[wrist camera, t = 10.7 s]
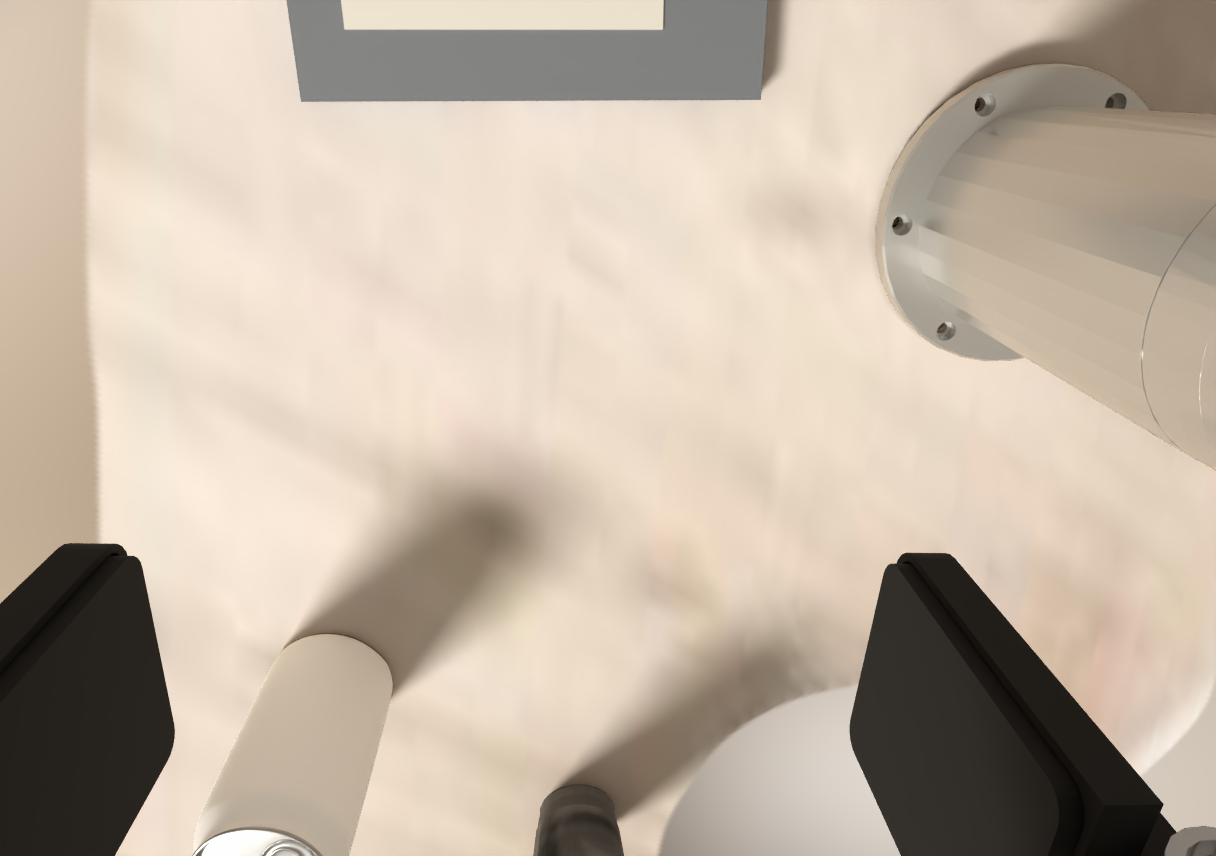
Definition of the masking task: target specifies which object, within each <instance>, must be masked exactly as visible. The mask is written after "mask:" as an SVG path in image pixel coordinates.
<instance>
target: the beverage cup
mask: <svg viewBox="0 0 1216 856" xmlns="http://www.w3.org/2000/svg"><path fill="white" fill-rule="evenodd" d="M533 856H624V853H623V848H622V842H621V837H620V831H619V828H618V825H617V822H616V817H615V814H614V806H613V804H612V801H611V799H610V798H609V797H608V796H607V795H606V793H604V792H603V791H601V790H599V789H597V788H595V787H591V786H587V785H571V786H567V787H562V788H560V789H558V790H556V791H554V792H552V793H551V794H550V795H549V796H548V797H547V798H546V799H545V800H544V802H543V804H542V806H541V808H540V818H539V823H538V828H537V830H536V839H535V847H534V855H533Z"/></svg>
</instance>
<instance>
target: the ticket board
mask: <svg viewBox="0 0 1216 856" xmlns="http://www.w3.org/2000/svg"><path fill="white" fill-rule="evenodd" d="M767 1H768V0H287V6H288V13H289V20H290V27H291V34H292V41H293V48H294V55H295V62H296V69H297V76H298V83H299V90H300V97H301V102H320V101H564V100H761V89H762V75H763V60H764V45H765V31H766V16H767Z"/></svg>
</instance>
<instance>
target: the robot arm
mask: <svg viewBox="0 0 1216 856" xmlns="http://www.w3.org/2000/svg"><path fill="white" fill-rule="evenodd" d="M977 99H979V100H980V106H979V108H978V109H977V110H976V111H975V103H976V100H977ZM1106 102H1107V105H1106V107H1105V104H1106ZM897 217H898V218H899V224H898V225H897V226H896V227H893V228H892V224H893V221H894V220H895V219H896V218H897ZM876 259H877V264H878V269H879V274H880V279H881V282H882V284H883V287H884V289H885V291H886V293H887V296H888V298H889V300H890V302H891V304H892V305H893V307H894V308H895V310H896V311H897V312H898V314H899V315H900V316H901V318H902V319H903V320H904V322H905V323H906V324H908V325H909V326H910V327H911V328H912V329H913V330H915V331H916V332H917V333H918V334H919V335H920V336H921V337H923V338H924V339H926V340H927V341H929V342H930V343H932V344H933V345H935V346H936V347H938V348H940V349H943V350H945V351H948V352H950V353H953V354H955V355H958V356H960V357H964V358H970V359H976V360H982V361H1011V360H1016V359H1021V358H1026V359H1028V360H1030V361H1031V362H1033V363H1035V364H1036V365H1038V366H1040V367H1041V368H1043V369H1045V370H1046V371H1048V372H1050V373H1051V374H1053V375H1055V376H1056V377H1058V378H1060V379H1061V380H1063V381H1065V382H1066V383H1068V384H1070V385H1071V386H1073V387H1075V388H1076V389H1078V390H1080V391H1081V392H1083V393H1085V394H1086V395H1088V396H1090V397H1091V398H1093V399H1095V400H1096V401H1098V402H1100V403H1102V404H1103V405H1105V406H1107V407H1108V408H1110V409H1112V410H1113V411H1115V412H1117V413H1118V414H1120V415H1122V416H1123V417H1125V418H1127V419H1128V420H1130V421H1132V422H1133V423H1135V424H1137V425H1138V426H1140V427H1142V428H1143V429H1145V430H1147V431H1148V432H1150V433H1152V434H1153V435H1155V436H1157V437H1159V438H1160V439H1162V440H1164V441H1165V442H1167V443H1168V444H1170V445H1172V446H1174V447H1175V448H1177V449H1179V450H1180V451H1182V452H1184V453H1186V454H1187V455H1189V456H1191V457H1192V458H1194V459H1196V460H1198V461H1200V462H1202V463H1204V464H1205V465H1207V466H1209V467H1210V468H1212V469H1214V470H1216V114H1202V113H1184V112H1166V111H1151V110H1150V108H1149V107H1148V106H1147V105H1146V104H1145V103H1144V102H1143V101H1142V100H1141V98H1140V97H1139V96H1138V95H1137V94H1136V93H1135V92H1134V91H1133V90H1132V89H1131V88H1129V87H1128V86H1126V85H1125V84H1123V83H1122V82H1120V81H1119V80H1117V79H1116V78H1114V77H1113V76H1111V75H1108V74H1105V73H1103V72H1100V71H1097V70H1094V69H1091V68H1089V67H1086V66H1077V65H1067V64H1058V63H1057V64H1034V65H1028V66H1023V67H1019V68H1014V69H1009V70H1004V71H1002V72H999V73H997V74H994V75H992V76H990V77H987V78H985V79H982V80H980V81H978V82H975V83H974V84H972V85H971V86H969V87H968V88H966V89H964V90H963V91H961V92H960V93H958V94H957V95H955V96H954V97H952V98H950V99H949V100H948V101H947V102H946V103H944V104H943V105H942V106H941V107H940V108H939V109H938V110H937V111H936V112H935V113H933V114H932V115H931V116H930V117H929V118H928V119H927V120H926V121H925V122H924V123H923V124H922V126H921V127H920V128H919V130H918V131H917V132H916V133H915V135H914V136H913V137H912V138H911V140H910V141H909V142H908V143H907V145H906V146H905V148H904V150H903V151H902V153H901V155H900V157H899V158H898V160H897V162H896V164H895V166H894V167H893V169H892V171H891V173H890V176H889V178H888V181H887V184H886V187H885V189H884V192H883V195H882V198H881V201H880V206H879V212H878V217H877V223H876ZM941 324H943V325H942V328H941V329H939V330H938V327H939V326H940V325H941ZM174 735H175V729H174V722H173V717H172V712H171V707H170V702H169V697H168V692H167V687H166V682H165V677H164V672H163V667H162V663H161V658H160V653H159V648H158V643H157V638H156V633H155V628H154V623H153V618H152V613H151V608H150V603H149V599H148V594H147V589H146V584H145V579H144V574H143V569H142V566H141V562H140V561H139V559H138V558H137V557H135V556H127V553H126V551H125V550H124V548H123V547H122V546H120V545H118V544H82V543H81V544H80V543H74V544H73V543H70V544H64V545H62V546H61V547H59V548H58V549H57V550H56V551H55V552H54V553H53V554H52V555H50V556H49V557H48V558H47V559H46V560H45V561H44V562H43V563H42V564H41V565H40V566H39V567H38V568H37V569H36V570H35V571H34V572H33V573H32V574H31V575H30V576H29V577H28V578H27V579H26V580H25V581H23V582H22V583H21V584H20V585H19V586H18V587H17V588H16V589H15V590H14V591H13V592H12V593H11V594H10V595H9V596H8V597H7V598H6V599H5V600H4V601H3V602H2V603H1V604H0V856H115V854H116V852H117V851H118V849H119V847H120V845H121V843H122V842H123V840H124V838H125V836H126V834H127V833H128V831H129V829H130V827H131V825H132V824H133V822H134V820H135V818H136V817H137V815H138V813H139V811H140V809H141V808H142V806H143V804H144V802H145V800H146V799H147V797H148V795H149V793H150V791H151V790H152V788H153V786H154V784H155V782H156V781H157V779H158V777H159V775H160V773H161V772H162V770H163V768H164V766H165V764H166V763H167V761H168V759H169V756H170V754H171V751H172V748H173V743H174ZM850 739H851V744H852V748H853V751H854V753H855V756H856V758H857V760H858V762H859V764H860V767H861V769H862V771H863V773H864V775H865V778H866V780H867V782H868V784H869V786H870V788H871V791H872V793H873V795H874V797H875V799H876V802H877V804H878V806H879V808H880V810H881V812H882V815H883V817H884V819H885V821H886V823H887V826H888V828H889V830H890V832H891V835H892V837H893V839H894V841H895V843H896V846H897V848H898V850H899V852H900V854H901V856H1216V828H1214V827H1207V826H1200V827H1191V828H1184V829H1182V830H1181V831H1179V832H1176V831H1175V830H1174V829H1173V827H1172V826H1171V825H1170V824H1169V823H1168V821H1167V820H1166V819H1165V818H1164V817H1163V815H1162V814H1161V813H1160V811H1161V809H1162V807H1163V803H1162V802H1161V801H1160V799H1159V798H1158V797H1157V796H1156V795H1155V794H1154V793H1153V791H1152V790H1151V789H1150V788H1149V787H1148V785H1147V784H1146V783H1145V782H1144V781H1143V780H1142V778H1141V777H1140V776H1139V775H1138V774H1137V772H1136V771H1135V770H1134V769H1133V768H1132V766H1131V765H1130V764H1129V763H1128V762H1127V761H1126V759H1125V758H1124V757H1123V756H1122V755H1121V754H1120V752H1119V751H1118V750H1117V749H1116V748H1115V746H1114V745H1113V744H1112V743H1111V742H1110V741H1109V739H1108V738H1107V737H1106V736H1105V735H1104V734H1103V732H1102V731H1101V730H1100V729H1099V728H1098V726H1097V725H1096V724H1095V723H1094V722H1093V721H1092V719H1091V718H1090V717H1089V716H1088V715H1087V713H1086V712H1085V711H1084V710H1083V709H1082V708H1081V706H1080V705H1079V704H1078V703H1077V702H1076V701H1075V699H1074V698H1073V697H1072V696H1071V695H1070V693H1069V692H1068V691H1067V690H1066V689H1065V688H1064V686H1063V685H1062V684H1061V683H1060V682H1059V681H1058V679H1057V678H1056V677H1055V676H1054V675H1053V673H1052V672H1051V671H1050V670H1049V669H1048V668H1047V666H1046V665H1045V664H1044V663H1043V662H1042V660H1041V659H1040V658H1039V657H1038V656H1037V655H1036V653H1035V652H1034V651H1033V650H1032V649H1031V648H1030V646H1029V645H1028V644H1027V643H1026V642H1025V640H1024V639H1023V638H1022V637H1021V636H1020V635H1019V633H1018V632H1017V631H1016V630H1015V629H1014V628H1013V626H1012V625H1011V624H1010V623H1009V622H1008V620H1007V619H1006V618H1005V617H1004V616H1003V615H1002V613H1001V612H1000V611H999V610H998V609H997V607H996V606H995V605H994V604H993V603H992V602H991V600H990V599H989V598H988V597H987V596H986V595H985V593H984V592H983V591H982V590H981V589H980V587H979V586H978V585H977V584H976V583H975V582H974V580H973V579H972V578H971V577H970V576H969V575H968V573H967V572H966V571H965V570H964V569H963V567H962V566H961V565H960V564H959V563H958V562H957V560H956V559H955V558H954V557H953V556H951V555H950V554H946V553H905V554H903V555H901V556H900V558H899V559H898V561H897V564H890V565H888V566H887V567H886V569H885V572H884V575H883V579H882V583H881V588H880V592H879V597H878V601H877V605H876V610H875V614H874V619H873V623H872V627H871V632H870V636H869V641H868V645H867V649H866V654H865V658H864V663H863V667H862V671H861V676H860V680H859V685H858V690H857V693H856V698H855V703H854V707H853V711H852V715H851V720H850Z"/></svg>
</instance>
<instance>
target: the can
mask: <svg viewBox="0 0 1216 856" xmlns="http://www.w3.org/2000/svg"><path fill="white" fill-rule="evenodd" d="M392 688H393V682H392V676H391V672H390V669H389V667H388V665H387V663H386V662H385V661H384V659H383V658H382V657H381V656H380V655H379V654H378V653H376V652H375V651H374V650H373V649H371V648H370V647H369V646H367V645H366V644H364V643H362V642H361V641H359V640H357V639H354V638H351V637H348V636H344V635H338V634H320V635H313V636H309V637H305V638H302V639H300V640H297V641H295V642H293V643H292V644H290V645H289V646H287V647H286V648H285V649H284V650H283V651H282V652H281V653H280V654H279V655H278V657H277V658H276V660H275V661H274V663H273V665H272V667H271V669H270V671H269V673H268V675H267V677H266V679H265V681H264V683H263V685H262V687H261V689H260V691H259V693H258V695H257V697H256V699H255V701H254V703H253V705H252V707H251V710H250V712H249V714H248V716H247V718H246V720H245V722H244V724H243V726H242V728H241V730H240V732H239V734H238V736H237V738H236V741H235V743H234V745H233V747H232V749H231V751H230V753H229V755H228V757H227V759H226V761H225V763H224V766H223V768H222V770H221V772H220V774H219V776H218V778H217V780H216V782H215V784H214V786H213V789H212V791H211V793H210V795H209V797H208V799H207V801H206V803H205V806H204V808H203V810H202V812H201V815H200V817H199V819H198V822H197V825H196V828H195V831H194V839H193V845H194V854H193V856H349V853H350V850H351V846H352V843H353V839H354V836H355V832H356V829H357V825H358V821H359V818H360V814H361V810H362V806H363V803H364V799H365V795H366V791H367V788H368V784H369V780H370V776H371V773H372V769H373V765H374V761H375V758H376V754H377V750H378V746H379V742H380V739H381V735H382V731H383V727H384V723H385V719H386V716H387V712H388V708H389V704H390V699H391V695H392Z"/></svg>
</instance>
